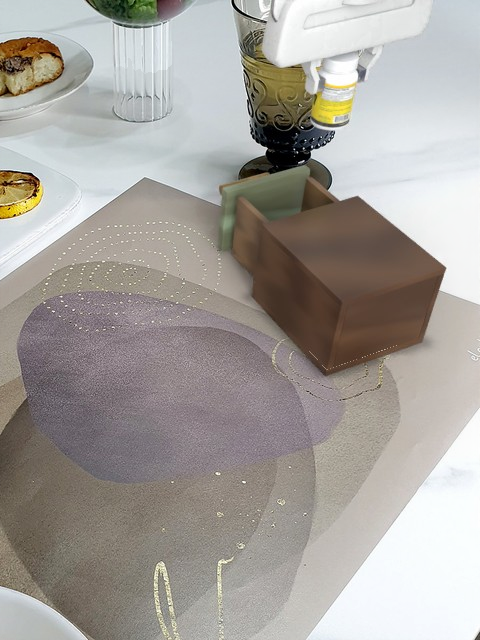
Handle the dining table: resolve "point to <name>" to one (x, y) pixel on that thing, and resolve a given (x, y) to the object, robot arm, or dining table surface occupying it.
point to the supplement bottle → (336, 92)
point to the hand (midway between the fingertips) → (336, 86)
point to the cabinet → (345, 283)
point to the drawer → (264, 208)
